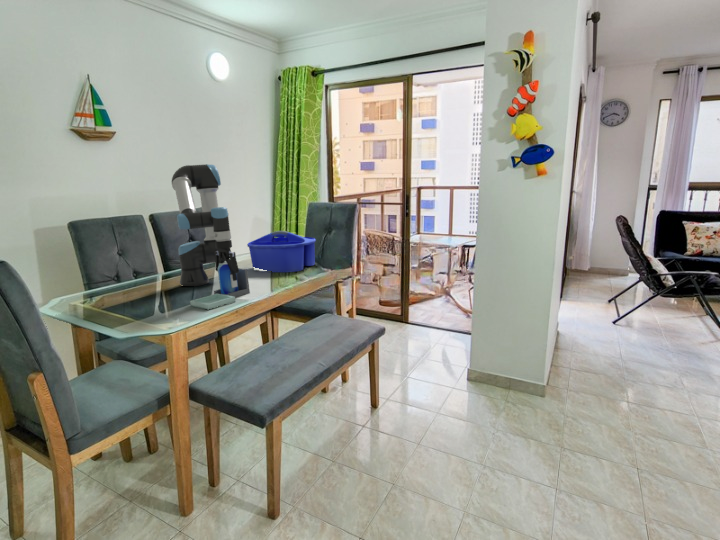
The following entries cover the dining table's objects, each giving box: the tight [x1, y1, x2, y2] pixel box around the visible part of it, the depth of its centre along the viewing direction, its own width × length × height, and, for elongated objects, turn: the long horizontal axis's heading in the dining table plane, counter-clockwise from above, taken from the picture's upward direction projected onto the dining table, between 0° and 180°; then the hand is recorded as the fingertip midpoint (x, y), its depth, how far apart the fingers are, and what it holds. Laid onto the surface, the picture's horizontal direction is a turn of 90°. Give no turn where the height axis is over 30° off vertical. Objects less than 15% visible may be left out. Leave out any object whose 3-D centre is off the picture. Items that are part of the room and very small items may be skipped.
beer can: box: [217, 261, 239, 296], centre depth 209 cm, size 8×8×16 cm
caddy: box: [246, 230, 317, 273], centre depth 271 cm, size 32×45×23 cm
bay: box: [213, 267, 251, 298], centre depth 211 cm, size 13×11×12 cm
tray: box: [189, 293, 236, 311], centre depth 196 cm, size 14×14×2 cm
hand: (229, 286), depth 210 cm, fingers closed on beer can, 8 cm apart
